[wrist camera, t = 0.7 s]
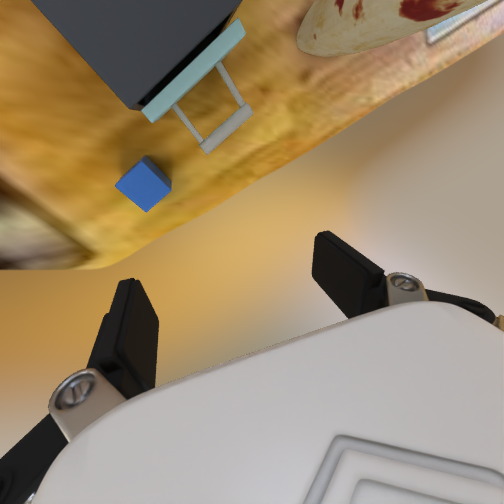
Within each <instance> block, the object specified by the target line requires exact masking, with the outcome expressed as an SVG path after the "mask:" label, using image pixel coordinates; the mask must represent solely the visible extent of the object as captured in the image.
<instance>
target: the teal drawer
mask: <svg viewBox="0 0 504 504" xmlns="http://www.w3.org/2000/svg"><path fill="white" fill-rule="evenodd" d="M245 35H246V32H245V30H244V28H243V26H242V24H241V22H240V19H239V18H237V19H236V20H235V21H234V22H233V23H232V24H231V25H230V26H229V27H227V28H226V29H225V30H224V31H223V32H222V33H221V34H220V35H219V36H218V37H217V38H216V39H215V40H214V41H213V42H212V43H211V44H210V45H209V46H208V47H207V48H206V49H205V50H204V51H202V52H201V53H200V54H199V55H198V56H197V57H196V58H195V59H194V60H193V61H192V62H191V63H190V64H189V65H188V66H187V67H186V68H185V69H184V70H183V71H182V72H181V73H180V74H178V75H177V76H176V77H175V78H174V79H173V80H172V81H171V82H170V83H169V84H168V85H167V86H166V87H165V88H164V89H163V90H162V91H161V92H160V93H159V94H158V95H157V96H156V97H155V98H153V99H152V100H151V101H150V102H149V103H148V104H147V105H146V106H145V107H144V108H143V109H142V110H141V111H142V112H143V114H144V115H145V116H146V117H147V118H148V119H149V120H150V122H151V123H153V122H156V121H158V120H159V119H160V118H161V117H162V116H163V115H164V114H165V113H166V112H167V111H168V110H169V109H171V108H173V110H174V111H175V112H176V114H177V115H178V116H179V117H180V119H181V120H182V121H183V122H184V124H185V125H186V126H187V128H188V129H189V130H190V131H191V133H192V134H193V135H194V136H195V138H196V139H197V140H198V142H199V143H200V144H199V146H200V147H201V148H202V150H203V151H204V152H205V153H206V154H207V155H208V154H209V153H210V152H211V151H213V150H214V149H215V148H216V147H217V146H218V145H219V144H220V143H222V142H223V141H224V140H225V139H226V138H227V137H228V136H229V135H231V134H232V133H233V132H234V131H235V130H236V129H237V128H238V127H240V126H241V125H242V124H243V123H244V122H245V121H246V120H247V119H249V118H250V117H251V116H252V115H253V111H252V109H251V107H250V105H249V104H248V103H245V102H244V100H243V99H242V97H241V95H240V93H239V92H238V90H237V88H236V86H235V85H234V83H233V81H232V79H231V78H230V76H229V74H228V73H227V71H226V69H225V67H224V66H223V64H222V62H221V60H223V59H224V58H225V57H226V56H227V55H228V54H229V53H230V52H231V50H232V49H233V48H234V47H235V46H236V45H237V44H238V43H239V42H240V40H241V39H242V38H243V37H244V36H245ZM215 66H216V68H217V70H218V71H219V73H220V75H221V76H222V78H223V80H224V81H225V83H226V85H227V86H228V88H229V90H230V91H231V93H232V95H233V96H234V98H235V100H236V101H237V103H238V105H239V107H240V108H239V109H238V110H237V111H236V112H235V113H233V114H232V115H231V116H230V117H229V118H228V119H227V120H226V121H225V122H223V123H222V124H221V125H220V126H219V127H218V128H217V129H216V130H215V131H213V132H212V133H211V134H210V135H209V136H208V137H207V138H206V139H205V140H204V139H203V138H202V137H201V135H200V134H199V133H198V131H197V130H196V129H195V127H194V126H193V125H192V123H191V122H190V121H189V120H188V118H187V117H186V116H185V114H184V113H183V112H182V110H181V109H180V108H179V106H178V105H177V104H176V103H177V102H178V101H179V100H180V99H181V98H182V97H183V96H184V95H185V94H186V93H187V92H189V91H190V90H191V89H192V88H193V87H194V86H195V85H196V84H197V83H198V82H199V81H200V80H201V79H202V78H203V77H204V76H206V75H207V74H208V73H209V72H210V71H211V70H212V69H213V68H214V67H215Z"/></svg>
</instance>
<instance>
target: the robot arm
mask: <svg viewBox="0 0 504 504" xmlns="http://www.w3.org/2000/svg"><path fill="white" fill-rule="evenodd" d="M312 277H313V279H314V280H315V281H316V282H317V283H318V285H319V286H320V287H321V288H322V289H323V290H324V291H325V292H326V294H327V295H328V296H329V297H330V298H331V299H332V301H333V302H334V303H335V304H336V305H337V306H338V307H339V309H340V310H341V311H342V312H343V313H344V314H345V315H346V317H347V318H348V320H345V321H342V322H339V323H336V324H333V325H330V326H327V327H324V328H322V329H318V330H315V331H312V332H309V333H307V334H304V335H301V336H298V337H295V338H292V339H289V340H287V341H284V342H281V343H278V344H275V345H272V346H269V347H266V348H264V349H261V350H258V351H255V352H252V353H249V354H246V355H244V356H241V357H238V358H235V359H232V360H229V361H226V362H224V363H221V364H218V365H215V366H212V367H210V368H207V369H204V370H201V371H198V372H196V373H193V374H191V375H187V376H185V377H182V378H179V379H177V380H174V381H171V382H169V383H166V384H163V385H160V386H158V387H156V388H155V379H156V363H157V347H158V332H159V320H158V317H157V315H156V313H155V311H154V309H153V307H152V305H151V303H150V300H149V298H148V296H147V295H146V293H145V291H144V288H143V286H142V284H141V282H140V281H139V280H135V279H134V278H130V279H126V280H122V281H120V282H119V283H118V286H117V289H116V293H115V296H114V299H113V302H112V305H111V308H110V311H109V313H106V314H105V315H104V317H103V320H102V323H101V326H100V329H99V332H98V335H97V338H96V341H95V344H94V347H93V349H92V352H91V356H90V358H89V361H88V364H87V367H86V369H82V370H80V371H77V372H75V373H73V374H72V375H71V376H69V377H68V378H66V379H65V380H64V381H63V382H62V383H61V384H60V385H59V386H58V387H57V388H56V390H55V391H54V392H53V394H52V396H51V398H50V400H49V405H48V408H49V412H50V413H49V414H48V415H47V416H46V417H45V418H44V419H42V420H41V421H40V423H38V424H37V425H36V426H35V427H34V428H33V429H32V430H31V431H30V432H29V433H28V434H26V435H25V436H24V437H23V438H22V439H21V440H20V441H19V442H18V443H17V444H16V445H15V446H14V447H13V448H12V449H10V450H9V451H8V452H7V453H6V454H5V455H4V456H3V457H2V458H1V459H0V504H504V316H502V315H499V316H498V317H496V316H495V314H494V313H493V312H492V311H491V310H490V309H489V308H488V307H487V306H485V305H483V304H482V303H480V302H478V301H475V300H472V299H469V298H464V297H460V296H455V295H451V294H446V293H441V292H437V291H432V290H428V289H425V288H424V286H423V284H422V282H421V281H420V280H419V279H417V278H415V277H414V276H411V275H409V274H405V273H399V272H396V273H391V274H389V275H388V276H385V275H384V270H383V269H382V268H380V267H379V266H377V265H376V264H375V263H373V262H372V261H370V260H369V259H368V258H366V257H365V256H364V255H362V254H361V253H359V252H358V251H357V250H355V249H354V248H353V247H351V246H350V245H348V244H347V243H346V242H344V241H343V240H341V239H340V238H339V237H337V236H336V235H335V234H333V233H332V232H330V231H323V232H319V233H318V234H317V236H316V237H315V241H314V252H313V263H312Z"/></svg>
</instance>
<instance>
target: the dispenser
mask: <svg viewBox="0 0 504 504" xmlns="http://www.w3.org/2000/svg"><path fill="white" fill-rule="evenodd" d="M31 1H32V2H33V3H34V5H35V6H36V7H37V8H38V9H39V10H40V11H41V12H42V13H43V15H44V16H45V17H46V18H47V19H48V20H49V21H50V22H51V23H52V24H53V26H54V27H55V28H56V29H57V30H58V31H59V32H60V33H61V34H62V36H63V37H64V38H65V39H66V40H67V41H68V42H69V43H70V44H71V45H72V47H73V48H74V49H75V50H76V51H77V52H78V53H79V54H80V55H81V56H82V58H83V59H84V60H85V61H86V62H87V63H88V64H89V65H90V66H91V68H92V69H93V70H94V71H95V72H96V73H97V74H98V75H99V76H100V77H101V79H102V80H103V81H104V82H105V83H106V84H107V85H108V86H109V87H110V89H111V90H112V91H113V92H114V93H115V94H116V95H117V96H118V97H119V98H120V100H121V101H122V102H123V103H124V104H125V105H126V106H127V107H128V108H129V109H132V110H138V111H141V110H142V109H143V108H144V107H145V106H146V105H147V104H148V103H149V102H150V101H151V100H152V99H153V98H155V97H156V96H157V95H158V94H159V93H160V92H161V91H162V90H163V89H164V88H165V87H166V86H167V85H168V84H169V83H170V82H171V81H172V80H173V79H174V78H175V77H176V76H177V75H178V74H180V73H181V72H182V71H183V70H184V69H185V68H186V67H187V66H188V65H189V64H190V63H191V62H192V61H193V60H194V59H195V58H196V57H197V56H198V55H199V54H200V53H201V52H202V51H204V50H205V49H206V48H207V47H208V46H209V45H210V44H211V43H212V42H213V41H214V40H215V39H216V38H217V37H218V36H219V35H220V34H221V33H222V32H223V31H224V30H225V28H226V27H227V25H228V23H229V22H230V20H231V18H232V17H233V15H234V13H235V12H236V10H237V8H238V7H239V5H240V4H241V2H242V0H31Z"/></svg>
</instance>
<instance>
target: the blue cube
mask: <svg viewBox="0 0 504 504" xmlns="http://www.w3.org/2000/svg"><path fill="white" fill-rule="evenodd" d="M115 187H116V188H117V189H118V190H120V191H121V192H122V193H123V194H124V195H126V196H127V197H128V198H129V199H130V200H132V201H133V202H134V203H135V204H136V205H138V206H139V207H140V208H141V209H142V210H144V211H145V212H148V211H149V210H150V209H151V208H152V207H153V206H154V205H156V204H157V203H158V202H159V201H160V200H161V199H162V198H163V197H165V196H166V195H167V194H168V193H169V192H170V191H171V187H172V182H171V180H170V179H169V178H168V177H167V176H166V175H165V174H164V173H163V172H162V171H161V170H160V169H159V168H158V167H157V166H156V165H155V164H154V163H153V162H152V161H151V160H150V159H149V158H148V157H147V156H146V155H145V156H144V157H143V158H142V159H141V160H140V161H138V162H137V163H136V164H135V165H134V166H133V167H132V168H131V169H130V170H129V171H128V172H127V173H126V174H124V175H123V176H122V177H121V178H120V180H119V181H118V182H117V183H116V185H115Z"/></svg>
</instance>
